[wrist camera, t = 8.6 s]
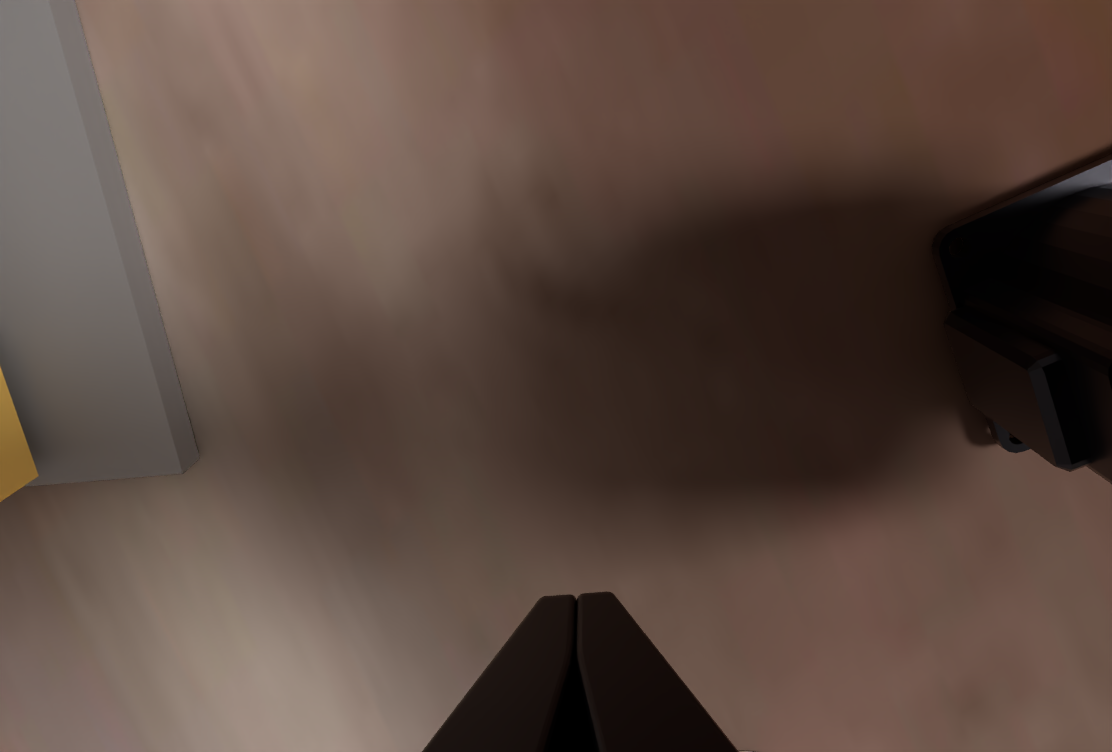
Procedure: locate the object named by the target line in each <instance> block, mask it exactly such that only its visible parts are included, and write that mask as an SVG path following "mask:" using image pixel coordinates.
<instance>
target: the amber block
mask: <svg viewBox="0 0 1112 752" xmlns="http://www.w3.org/2000/svg"><path fill="white" fill-rule="evenodd" d="M38 476H39V475H38V472H37V470H36V467H35V464H34V461H33V458H32V455H31V453H30V450H29V447H28V444H27V441H26V438H25V435H24V433H23V430H22V427H21V424H20V421H19V418H18V415H17V413H16V410H15V407H14V404H13V401H12V398H11V396H10V393H9V390H8V387H7V384H6V381H5V378H4V376H3V373H2V370H1V367H0V502H1V501H2V500H4V499H5V498H7V497H8V496H10V495H11V494H13V493H14V492H16V491H17V490H19V489H20V488H22V487H23V486H25V485H26V484H28V483H29V482H30V481H32V480H33V479H35V478H36V477H38Z"/></svg>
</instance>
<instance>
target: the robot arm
mask: <svg viewBox="0 0 1112 752" xmlns="http://www.w3.org/2000/svg"><path fill="white" fill-rule="evenodd" d="M956 238H961V239H962V240H963V246H962V248H961V250H960V251H959V252H958V253H957V254H955V255H951V254H950V252H949V246H950V245H951V243H952V241H954V240H955V239H956ZM932 253H933V257H934V260H935V263H936V266H937V269H938V272H939V275H940V278H941V281H942V284H943V287H944V290H945V293H946V296H947V299H948V302H949V306H950V309H951V311H950V312H948V314H947V316H946V319H945V321H944V327H945V330H946V333H947V336H948V339H949V342H950V345H951V348H952V351H953V354H954V357H955V360H956V363H957V366H958V369H959V372H960V375H961V378H962V381H963V384H964V387H965V390H966V393H967V396H968V399H969V402H970V403H971V405H973V406H974V407H975V408H977V409H978V410H979V411H981V412H982V413H984V414H985V416H986V419H987V422H988V425H989V428H990V431H991V434H992V437H993V439H994V440H995V442H996V443H997V444H999V445H1000V446H1001V447H1002V448H1004V449H1005V450H1007V451H1009V452H1014V453H1018V452H1023V451H1026V450H1029V449H1032V450H1033V451H1035V452H1036V453H1038V454H1039V455H1040V456H1042V457H1043V458H1044V459H1046V460H1047V461H1048V462H1050V463H1051V464H1052V465H1054V466H1055V467H1058V468H1061V469H1064V470H1066V471H1069V472H1071V471H1074V470H1077V469H1079V468H1082V467H1084V466H1087V467H1088V468H1090V469H1091V470H1092V471H1094V472H1095V473H1097V474H1098V475H1100V476H1101V477H1102V478H1104V479H1105V480H1107V481H1108V482H1110V483H1111V484H1112V154H1110V155H1108V156H1106V157H1103V158H1101V159H1099V160H1097V161H1094V162H1092V163H1090V164H1088V165H1085V166H1083V167H1081V168H1078V169H1076V170H1074V171H1072V172H1069V173H1067V174H1065V175H1063V176H1060V177H1058V178H1056V179H1054V180H1051V181H1049V182H1047V183H1044V184H1042V185H1040V186H1038V187H1035V188H1033V189H1031V190H1029V191H1026V192H1024V193H1022V194H1020V195H1017V196H1015V197H1013V198H1011V199H1008V200H1006V201H1004V202H1001V203H999V204H997V205H995V206H992V207H990V208H988V209H986V210H983V211H981V212H979V213H977V214H974V215H972V216H970V217H967V218H965V219H963V220H961V221H958V222H956V223H954V224H952V225H949V226H947V227H945V228H944V229H942V230H941V231H939V233H938V234H937V235H936V237H935V238H934V240H933V244H932ZM1010 433H1011V434H1012V435H1013V436H1015V437H1014V438H1009V434H1010ZM422 752H739V751H738V750H737V749H736V748H735V746H734V745H733V744H732V743H731V741H730V740H729V739H728V738H727V736H726V735H725V734H724V733H723V731H722V730H721V729H720V727H719V726H718V725H717V724H716V722H715V721H714V720H713V719H712V717H711V716H710V715H709V714H708V712H707V711H706V710H705V709H704V707H703V706H702V705H701V704H700V702H699V701H698V700H697V698H696V697H695V696H694V695H693V693H692V692H691V691H690V690H689V688H688V687H687V686H686V685H685V683H684V682H683V681H682V680H681V678H680V677H679V676H678V675H677V673H676V672H675V671H674V669H673V668H672V667H671V666H670V664H669V663H668V662H667V661H666V659H665V658H664V657H663V656H662V654H661V653H660V652H659V651H658V649H657V648H656V647H655V646H654V644H653V643H652V642H651V640H650V639H649V638H648V637H647V635H646V634H645V633H644V632H643V630H642V629H641V628H640V627H639V625H638V624H637V623H636V622H635V620H634V619H633V618H632V617H631V615H630V614H629V613H628V611H627V610H626V609H625V608H624V606H623V605H622V604H621V603H620V601H619V600H618V599H617V598H616V596H615V595H614V594H613V593H611V592H597V593H584V594H581V595H579V596H578V598H577V600H576V598H575V596H573V595H556V596H544V597H542V598H540V599H539V600H538V602H537V603H536V604H535V605H534V607H533V608H532V609H531V611H530V612H529V613H528V615H527V616H526V617H525V618H524V620H523V621H522V622H521V624H520V625H519V626H518V628H517V629H516V630H515V631H514V633H513V634H512V635H511V637H510V638H509V639H508V641H507V642H506V643H505V644H504V646H503V647H502V648H501V650H500V651H499V652H498V653H497V655H496V656H495V657H494V659H493V660H492V661H491V663H490V664H489V665H488V666H487V668H486V669H485V670H484V672H483V673H482V674H481V676H480V677H479V678H478V679H477V681H476V682H475V683H474V685H473V686H472V687H471V689H470V690H469V691H468V692H467V694H466V695H465V696H464V698H463V699H462V700H461V702H460V703H459V704H458V705H457V707H456V708H455V709H454V711H453V712H452V713H451V715H450V716H449V717H448V718H447V720H446V721H445V722H444V724H443V725H442V726H441V728H440V729H439V730H438V731H437V733H436V734H435V735H434V737H433V738H432V739H431V741H430V742H429V743H428V744H427V746H426V747H425V748H424V750H423V751H422Z"/></svg>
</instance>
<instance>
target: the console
mask: <svg viewBox="0 0 1112 752" xmlns="http://www.w3.org/2000/svg"><path fill="white" fill-rule="evenodd" d="M0 367H1V370H2V373H3V376H4V378H5V381H6V384H7V387H8V390H9V393H10V396H11V398H12V401H13V404H14V407H15V410H16V413H17V415H18V418H19V421H20V424H21V427H22V430H23V433H24V435H25V438H26V441H27V444H28V447H29V450H30V453H31V455H32V458H33V461H34V464H35V467H36V470H37V472H38V475H39V476H38V477H36V478H35V479H33V480H32V481H30V482H29V483H28V484H26V485H25V486H23V487H27V486H40V485H52V484H64V483H77V482H89V481H101V480H114V479H126V478H138V477H151V476H163V475H175V474H183V473H184V472H185V471H187V470H188V469H189V468H190V467H191V466H192V465H193V464H194V463H195V462H196V461H197V460H198V459H200V457H199V453H198V449H197V446H196V442H195V438H194V435H193V431H192V427H191V424H190V420H189V416H188V413H187V409H186V405H185V402H184V398H183V395H182V391H181V387H180V384H179V380H178V376H177V373H176V369H175V365H174V362H173V358H172V354H171V351H170V347H169V343H168V340H167V336H166V332H165V329H164V325H163V321H162V318H161V314H160V310H159V307H158V303H157V299H156V296H155V292H154V288H153V285H152V281H151V278H150V274H149V270H148V267H147V263H146V259H145V256H144V252H143V248H142V245H141V241H140V237H139V234H138V230H137V226H136V223H135V219H134V215H133V212H132V208H131V204H130V201H129V197H128V193H127V190H126V186H125V182H124V179H123V175H122V172H121V168H120V164H119V161H118V157H117V153H116V150H115V146H114V142H113V139H112V135H111V131H110V128H109V124H108V120H107V117H106V113H105V109H104V106H103V102H102V98H101V95H100V91H99V87H98V84H97V80H96V76H95V73H94V69H93V66H92V62H91V58H90V55H89V51H88V47H87V44H86V40H85V36H84V33H83V29H82V25H81V22H80V18H79V14H78V11H77V7H76V3H75V0H0Z"/></svg>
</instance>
